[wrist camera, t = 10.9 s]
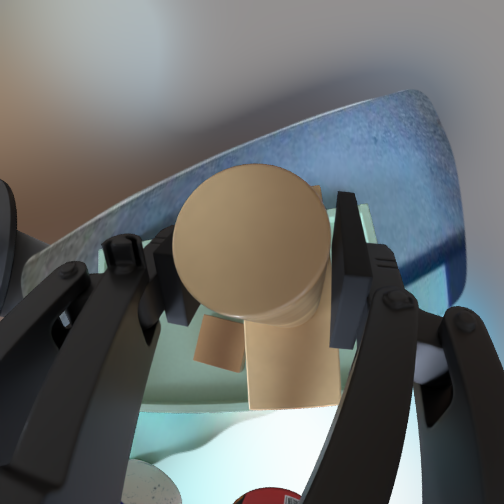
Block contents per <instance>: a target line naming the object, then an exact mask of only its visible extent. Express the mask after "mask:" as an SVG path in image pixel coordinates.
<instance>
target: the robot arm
mask: <svg viewBox="0 0 504 504" xmlns="http://www.w3.org/2000/svg"><path fill="white" fill-rule="evenodd" d="M174 228H175V225H171V226H169V227H167V228H165V229H163V230H161V231H160V232H159V233H158V234H157V235H156V236H155V238H153V239H152V240H151V241H150V243H148V244H147V245H146V246H145V247H144V248H143V244H142V239H141V238H140V236H138V235H135V234H120V235H117V236H114V237H111V238H109V239H107V240H106V241H104V242H103V243H102V244H101V245H102V249H103V253H104V256H105V260H106V264H107V269H106V270H105V272H104V273H94V274H89V272H88V269H87V266H86V264H85V263H83V262H81V261H71V262H67V263H65V264H63V265H61V266H60V267H58V268H57V269H55V270H54V271H53V272H52V273H51V274H50V275H49V276H48V277H46V278H45V279H44V280H43V281H42V282H41V283H40V284H39V285H38V286H36V287H35V288H34V289H33V290H32V291H31V292H30V293H29V294H28V295H27V296H26V297H25V298H24V299H23V300H22V301H21V302H19V303H18V304H17V305H16V306H15V307H14V308H13V309H12V310H11V311H10V312H9V313H8V314H7V315H6V316H5V317H4V318H3V319H2V320H1V321H0V504H121V498H122V492H123V487H124V481H125V476H126V471H127V466H128V461H129V456H130V451H131V447H132V442H133V438H134V433H135V429H136V424H137V420H138V416H139V412H140V407H141V403H142V399H143V395H144V391H145V387H146V383H147V380H148V376H149V372H150V368H151V364H152V361H153V357H154V353H155V350H156V346H157V343H158V339H159V336H160V332H161V324H160V320H159V318H160V316H161V315H162V313H163V312H164V310H165V314H166V318H167V322H168V323H172V324H176V325H181V326H186V327H188V326H189V324H190V323H191V321H192V319H193V317H194V315H195V313H196V312H197V310H198V308H199V306H200V304H201V303H200V302H198V301H197V300H196V299H195V298H194V297H193V296H192V295H191V294H190V293H189V292H188V290H187V289H186V288H185V286H184V284H183V283H182V281H181V279H180V277H179V275H178V273H177V270H176V266H175V263H174V257H173V246H172V242H173V233H174ZM331 247H332V273H331V319H330V342H329V348H338V349H349V350H353V348H354V345H355V342H356V339H357V350H356V353H355V356H354V359H353V362H352V365H351V368H350V371H349V373H348V378H347V382H346V385H345V388H344V391H343V394H342V397H341V400H340V403H339V405H338V409H337V411H336V414H335V417H334V419H333V422H332V425H331V427H330V430H329V433H328V435H327V438H326V441H325V443H324V446H323V448H322V450H321V453H320V455H319V458H318V460H317V462H316V465H315V467H314V470H313V472H312V474H311V476H310V478H309V481H308V483H307V485H306V487H305V489H304V491H303V493H302V496H301V498H300V500H299V502H298V504H388V503H389V500H390V497H391V493H392V489H393V486H394V482H395V479H396V475H397V471H398V467H399V462H400V458H401V453H402V449H403V444H404V440H405V434H406V429H407V423H408V417H409V411H410V404H411V398H412V390H414V396H415V404H416V412H417V420H418V429H419V440H420V452H421V468H422V500H423V501H422V504H504V370H503V367H502V365H501V362H500V360H499V357H498V355H497V352H496V350H495V348H494V345H493V343H492V340H491V338H490V336H489V334H488V331H487V329H486V327H485V325H484V322H483V321H482V320H481V318H480V317H479V316H478V315H477V314H476V313H475V312H474V311H472V310H470V309H468V308H465V307H460V306H454V307H450V308H449V309H447V310H446V312H445V314H444V316H443V317H441V316H437V315H434V314H431V313H428V312H426V311H423V310H421V309H419V308H418V302H417V299H416V298H415V297H414V296H413V294H411V293H410V292H408V291H407V290H405V288H404V285H403V282H402V278H401V275H400V272H399V269H398V266H397V262H396V259H395V256H394V253H393V252H392V251H391V250H390V249H389V248H388V247H387V246H386V245H384V244H376V243H367V242H366V239H365V235H364V230H363V226H362V221H361V217H360V213H359V209H358V205H357V201H356V197H355V193H350V192H341V191H338V194H337V203H336V212H335V221H334V230H333V238H332V245H331ZM64 311H65V313H66V315H67V318H68V320H69V322H70V324H69V325H67V326H66V327H64V326H63V324H62V322H61V319H60V317H59V316H60V315H61V314H62V313H63V312H64Z"/></svg>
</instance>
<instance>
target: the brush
mask: <svg viewBox="0 0 504 504" xmlns="http://www.w3.org/2000/svg"><path fill="white" fill-rule="evenodd" d="M172 246H173V257H174V263H175V266H176V270H177V273H178V275H179V277H180V279H181V281H182V283H183V284H184V286H185V288H186V289H187V290H188V292H189V293H190V294H191V295H192V296H193V297H194V298H195V299H196V300H197V301H198V302H200V303H201V304H202V305H203V306H205V307H207V308H208V309H210V310H212V311H214V312H216V313H218V314H221V315H224V316H228V317H232V318H236V319H241V320H244V334H245V352H246V369H247V386H248V402H249V409H250V410H283V409H301V408H313V407H325V406H336V405H339V403H340V400H341V374H340V356H339V349H338V348H329V342H330V319H331V273H332V266H331V257H330V248H331V226H330V221H329V216H328V214H327V211H326V208H325V206H324V204H323V200H322V193H321V187H320V186H319V185H317V186H310V185H309V184H308V183H307V182H306V181H304V180H303V179H302V178H300V177H299V176H297V175H295V174H294V173H292V172H290V171H288V170H286V169H283V168H281V167H277V166H273V165H267V164H243V165H239V166H234V167H231V168H228V169H225V170H223V171H221V172H219V173H217V174H215V175H213V176H212V177H210V178H208V179H207V180H206V181H204V182H203V183H202V184H201V185H200V186H199V187H198V188H197V189H196V190H195V191H194V192H193V193H192V194H191V195H190V196H189V198H188V199H187V201H186V202H185V204H184V205H183V207H182V209H181V211H180V213H179V215H178V218H177V221H176V224H175V228H174V233H173V242H172Z"/></svg>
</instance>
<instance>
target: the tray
mask: <svg viewBox="0 0 504 504" xmlns="http://www.w3.org/2000/svg"><path fill="white" fill-rule="evenodd" d="M358 209H359V213H360V217H361V221H362V226H363V230H364V235H365V239H366V242H367V243H376V244H378V243H377V239H376V235H375V231H374V226H373V222H372V218H371V214H370V211H369V207H368V204H360V205H358ZM326 211H327V214H328V216H329V221H330V226H331V245H332V238H333V230H334V221H335V212H336V208H333V209H326ZM151 240H152V239H151ZM151 240H146V241H142V244H143V248H144V247H145V246H146V245H147V244H148V243H150V241H151ZM330 257H331V266H332V247H331V248H330ZM106 269H107V264H106V260H105V256H104V253H103V249H101V250H99V273H104V272H105V270H106ZM204 314H206V315H211V316H215V317H219V318H223V319H227V320H231V321H235V322H239V323H243V324H244V320H241V319H236V318H232V317H228V316H224V315H221V314H218V313H216V312H214V311H212V310H210V309H208V308H207V307H205V306H203V305H202V304H200V306H199V308H198V310H197V312H196V313H195V315H194V317H193V319H192V321H191V323H190V324H189V326H188V327H186V326H181V325H176V324H172V323H168V322H167V318H166V314H165V310H164V312H163V313H162V315H161V316H160V318H159V320H160V324H161V332H160V336H159V339H158V343H157V346H156V350H155V353H154V357H153V361H152V364H151V368H150V372H149V376H148V380H147V383H146V387H145V391H144V395H143V399H142V403H141V407H140V412H157V413H222V412H242V411H256V410H250V409H249V402H248V386H247V369H246V359H245V364H244V368H243V371H242V372H240V373H236V372H233V371H229V370H225V369H221V368H218V367H214V366H211V365H207V364H204V363H201V362H197V361H194V360H193V358H194V353H195V349H196V345H197V340H198V336H199V332H200V328H201V324H202V319H203V315H204ZM356 350H357V339H356V342H355V345H354V348H353V350H349V349H339V356H340V374H341V397H342V394H343V391H344V388H345V385H346V382H347V378H348V373H349V371H350V368H351V365H352V362H353V359H354V356H355V353H356Z"/></svg>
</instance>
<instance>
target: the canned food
mask: <svg viewBox="0 0 504 504" xmlns="http://www.w3.org/2000/svg"><path fill="white" fill-rule="evenodd" d="M300 498H301V496H300V495H299V494H297V493H295V492H292V491H290V490H287V489H283V488H275V487H265V488H259V489H255V490H252V491H249V492H247V493H245V494H244V495H242V496H241V497H240V498H238V499H237V500H236V501H235V502H234V503H233V504H298V502H299V500H300Z"/></svg>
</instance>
